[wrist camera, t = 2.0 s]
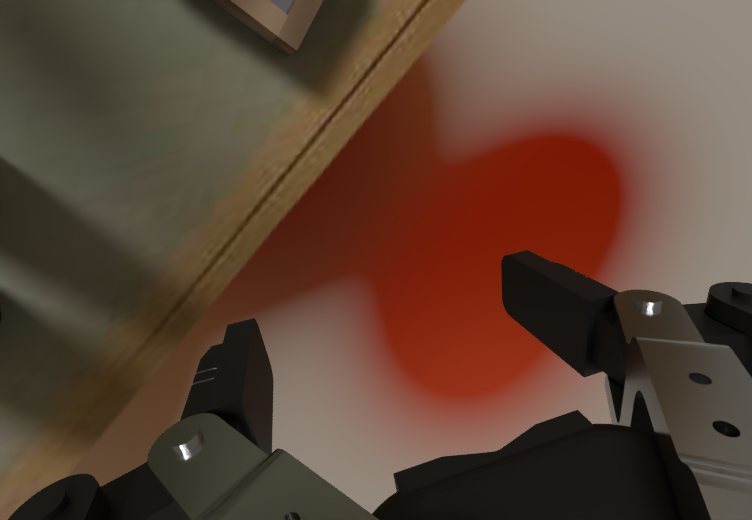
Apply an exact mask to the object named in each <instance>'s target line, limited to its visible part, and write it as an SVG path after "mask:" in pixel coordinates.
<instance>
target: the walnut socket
mask: <svg viewBox="0 0 752 520" xmlns="http://www.w3.org/2000/svg"><path fill="white" fill-rule="evenodd" d="M212 1H213V2H214V3H216V4H217V5H219V6H220V7H221V8H223V9H224V10H225V11H227V12H228V13H229V14H231V15H232V16H233V17H235V18H236V19H238V20H239V21H240V22H242V23H243V24H244V25H246V26H247V27H248V28H250V29H251V30H252V31H254V32H255V33H256V34H258V35H259V36H261V37H262V38H263V39H265V40H266V41H267V42H269V43H270V44H271V45H273V46H274V47H275V48H277V49H278V50H279V51H281V52H282V53H284V54H285V55H286V56H289V55H290V54H292V53H294V52H296V51H297V50H298V48H299V46H300V44H301V42H302V40H303V38H304V37H305V35H306V33H307V31H308V29H309V27H310V25H311V23H312V21H313V19H314V17H315V15H316V13H317V12H318V10H319V8H320V6H321V4H322V2H323V0H212Z"/></svg>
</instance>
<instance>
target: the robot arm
mask: <svg viewBox="0 0 752 520" xmlns="http://www.w3.org/2000/svg"><path fill="white" fill-rule="evenodd" d="M501 266H502V267H501V268H502V301H503V305H504V307H505V310H506V311H507V313H508V314H509V316H511V317H512V318H513V319H514V320H515V321H517V322H518V323H519V324H520V325H521V326H523V327H524V328H525V329H526V330H528V331H529V332H530V333H531V334H532V335H534V336H535V337H536V338H537V339H538V340H540V341H541V342H542V343H543V344H545V345H546V346H547V347H548V348H549V349H551V350H552V351H553V352H554V353H555V354H557V355H558V356H559V357H560V358H561V359H563V360H564V361H565V362H566V363H567V364H569V365H570V366H571V367H572V368H574V369H575V370H576V371H577V372H578V373H579V374H581V375H582V376H583V377H587V376H590V375H593V374H596V373H598V372H602V371H603V372H605V373H606V376H605V389H606V394H607V400H608V405H609V410H610V415H611V420H612V424H592V423H591V422H590V421H589V420H588V419H587V418H585V417H584V416H583V415H582V414H581V413H580V412H579V411H578V410H576V411H573V412H570V413H567V414H565V415H562V416H559V417H556V418H553V419H550V420H547V421H544V422H541V423H538V424H536V425H534V426H533V427H531V428H530V429H529V430H527V431H526V432H524V433H523V434H521V435H520V436H519V437H517V438H516V439H514V440H513V441H512V442H510V443H509V444H507V445H506V446H505V447H503V448H502V449H500V450H498V451H495V452H487V453H478V454H467V455H457V456H445V457H440V458H437V459H434V460H432V461H429V462H426V463H423V464H420V465H417V466H414V467H411V468H408V469H405V470H403V471H400V472H397V473H394V479H395V484H396V489H397V492H396V493H395V494H393V495H392V496H390V497H389V498H388V499H387V500H386V501H384V502H383V503H382V504H381V505H380V506H379V507H378V508H377V509H376V510H375V511H374V512H373V514H371V513H369V512H368V511H367V510H365V509H364V508H362V507H361V506H360V505H358V504H357V503H356V502H354V501H353V500H351V499H350V498H349V497H347V496H346V495H345V494H343V493H342V492H341V491H339V490H338V489H337V488H335V487H334V486H332V485H331V484H330V483H328V482H327V481H326V480H324V479H323V478H322V477H320V476H319V475H318V474H316V473H315V472H313V471H312V470H311V469H309V468H308V467H307V466H305V465H304V464H302V463H301V462H300V461H298V460H297V459H295V458H294V457H293V456H292V455H290V454H289V453H287V452H286V451H284V450H282V449H276V450H275V451H274V452H273V453H272V417H273V416H272V414H273V375H272V369H271V365H270V361H269V358H268V355H267V352H266V349H265V345H264V342H263V339H262V336H261V333H260V330H259V327H258V324H257V322H256V320H255V319H254V318H253V319H249V320H245V321H241V322H237V323H233V324H229V325H228V326H227V329H226V333H225V337H224V341H223V343H222V344H219V345H215V346H212V347H211V348H210V349H209V350H208V351H207V353H206V354H205V355H204V356H203V357H202V358H201V360H200V363H199V366H198V369H197V374H196V375H195V378H194V381H193V385H192V387H191V390H190V393H189V396H188V399H187V402H186V405H185V408H184V411H183V414H182V417H181V420H180V421H179V422H177V423H176V424H174V425H173V426H171V427H170V428H168V429H167V430H166V431H165V432H164V433H162V434H161V435H160V436H159V438H158V439H157V440H156V441H155V443H154V444H153V445H152V447H151V449H150V451H149V454H148V459H147V462H146V463H144V464H143V465H141V466H139V467H137V468H136V469H134V470H132V471H130V472H128V473H126V474H124V475H122V476H121V477H119V478H117V479H115V480H113V481H111V482H109V483H107V484H106V485H104V486H102V487H100V485H99V484H98V482H97V481H96V479H95V478H94V477H93V476H92V475H89V474H77V475H73V476H69V477H66V478H64V479H61V480H59V481H57V482H55V483H53V484H51V485H49V486H47V487H46V488H44V489H42V490H41V491H39V492H38V493H36V494H35V495H34V496H32V497H31V498H30V499H28V500H27V501H26V502H25V503H24V504H23V505H21V506H20V507H19V508H18V509H17V510H16V511H15V512H14V513H13V514H12V515H11V517H10V518H9V519H8V520H752V284H749V283H741V282H724V283H718V284H715V285H713V286H711V287H710V289H709V293H708V298H707V302H706V303H698V304H685V305H682V304H681V303H680V302H679V301H678V300H676V299H675V298H673V297H671V296H669V295H666V294H663V293H660V292H655V291H650V290H627V291H623V292H617V291H615V290H613V289H611V288H609V287H607V286H605V285H603V284H601V283H599V282H597V281H595V280H593V279H591V278H589V277H587V278H586V276H585V275H582V274H581V273H579V272H575V270H572V269H571V268H569V267H567V266H565V265H562V264H559V263H554V262H550V261H548V260H546V259H544V258H542V257H540V256H538V255H536V254H534V253H532V252H530V251H528V250H525V251H521V252H518V253H513V254H510V255H505V256H504V257H503V259H502V263H501Z"/></svg>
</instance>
